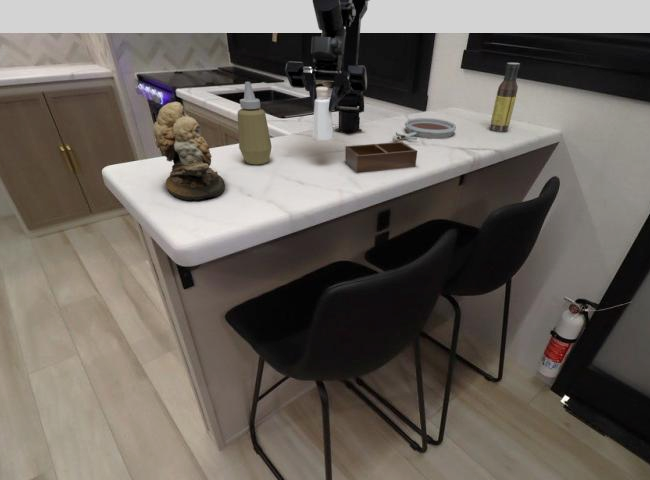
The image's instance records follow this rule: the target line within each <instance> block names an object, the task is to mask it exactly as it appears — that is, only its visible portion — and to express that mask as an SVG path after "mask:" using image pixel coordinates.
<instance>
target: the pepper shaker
mask: <svg viewBox="0 0 650 480" xmlns="http://www.w3.org/2000/svg"><path fill="white" fill-rule="evenodd" d="M316 91H317V99H315V103H314V111H313V122H312V137H311V138H312V139H313V140H315V141H318V142H328V141H332V140H334V137H335V134H334V124H333V115H332V113H333V112H332V111H331V112H329V102H330V98H329V87H327V86H317V88H316Z"/></svg>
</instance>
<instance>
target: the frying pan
mask: <svg viewBox="0 0 650 480" xmlns="http://www.w3.org/2000/svg"><path fill="white" fill-rule="evenodd" d="M404 126H405V130H406V134H401V133H399V132H397V131H395V135H394V136H393V137H392V138H391V139H392V142H398V141H399V140H402V139H404V140H410V141H418V137H419V138H426V139H445V138H449V137H452V136H453V134H454V132H455V131H456V130H457V126H456V124H455V123H454V122H452V121H449V120H445V119H442V118H441V119H440V118H432V117H415V118H410V119H408V120H406V121H405V122H404Z"/></svg>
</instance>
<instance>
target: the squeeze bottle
mask: <svg viewBox="0 0 650 480" xmlns="http://www.w3.org/2000/svg"><path fill="white" fill-rule="evenodd" d="M239 105H240V109H239V110H238V111H237V129H238V149H239V151H240V153H241V155H242V157H243V159H244V161H245V163H246V164H249V165H264V164H267V163H269V161H270V157H271V153H272V152H271V151H272V141H271V135H270V130H269V125H268V120H267V115H266V111H265V110H264V109H262V108H261V106H262V105H261V100H260V99H259V98H256V96H255V92H254V89H253V86H252V84H251V81H245V82H244V95H243V98H241V99H239Z"/></svg>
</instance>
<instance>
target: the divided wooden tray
mask: <svg viewBox="0 0 650 480" xmlns="http://www.w3.org/2000/svg"><path fill="white" fill-rule="evenodd" d="M417 158H418V150H416V149H415V148H413V147H412V146H410V145H408V144H407V143H405V142H403V141H396V142H394V141H392V142H382V143H370V144H357V145H346V146H345V148H344V162H345V163H346V164H347V165H348V167H350V168H351V169H352V170H353V171H354V172H355V173H357V174H361V173H368V172H377V171H388V170H397V169H406V168H415V167H416V165H417Z"/></svg>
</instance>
